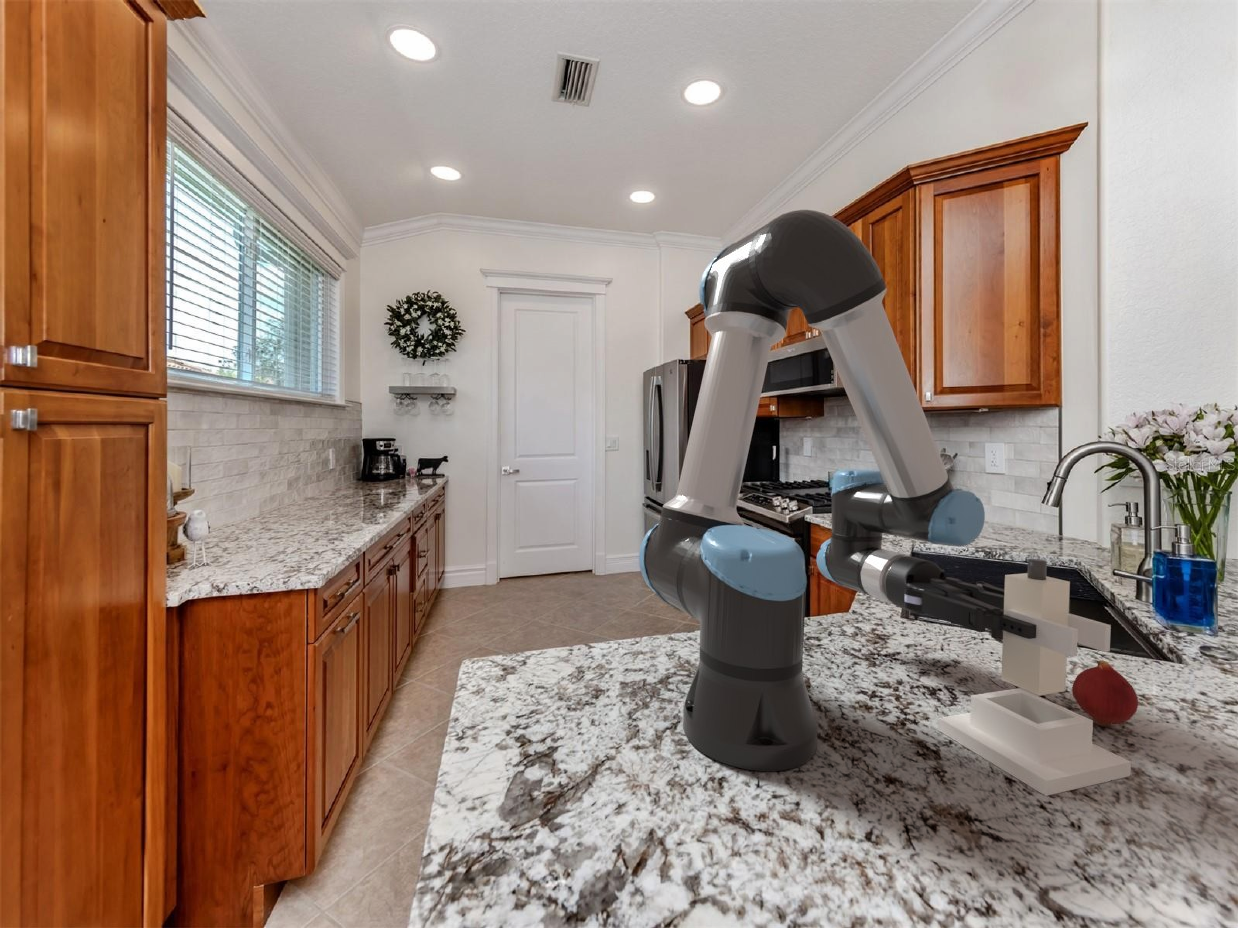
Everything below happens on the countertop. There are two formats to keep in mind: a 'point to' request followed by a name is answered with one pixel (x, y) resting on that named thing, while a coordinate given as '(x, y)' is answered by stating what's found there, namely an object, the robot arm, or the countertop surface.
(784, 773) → the countertop surface
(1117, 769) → the socket
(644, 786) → the countertop surface
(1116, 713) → the onion
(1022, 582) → the plug
